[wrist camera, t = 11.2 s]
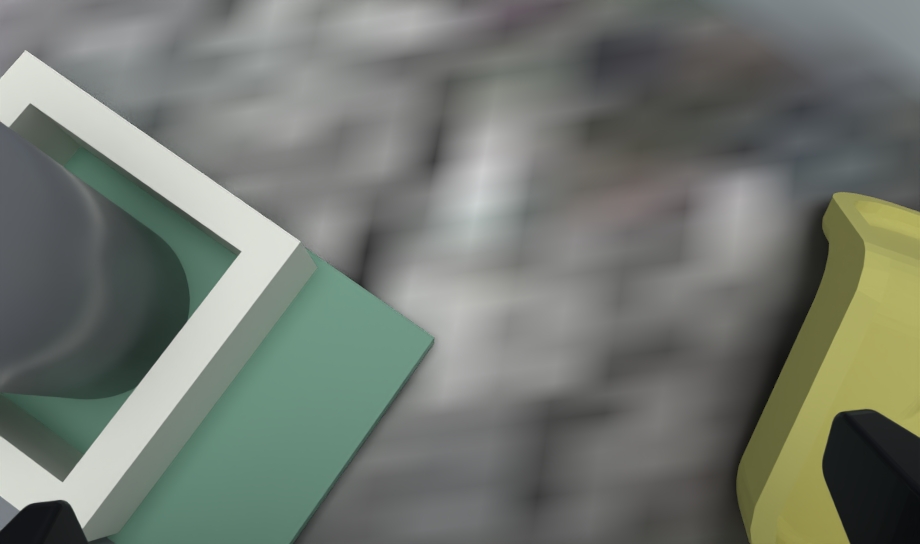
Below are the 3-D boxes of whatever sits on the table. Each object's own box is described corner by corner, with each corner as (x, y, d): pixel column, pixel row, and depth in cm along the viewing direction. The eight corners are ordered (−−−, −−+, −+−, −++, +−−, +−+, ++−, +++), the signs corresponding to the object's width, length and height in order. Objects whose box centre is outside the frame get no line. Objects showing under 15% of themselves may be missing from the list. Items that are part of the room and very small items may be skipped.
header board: (67, 864, 21) (-23, 969, 17) (-344, 534, 22) (-524, 556, 18) (434, 342, 24) (435, 321, 20) (53, 77, 25) (-23, 5, 21)
